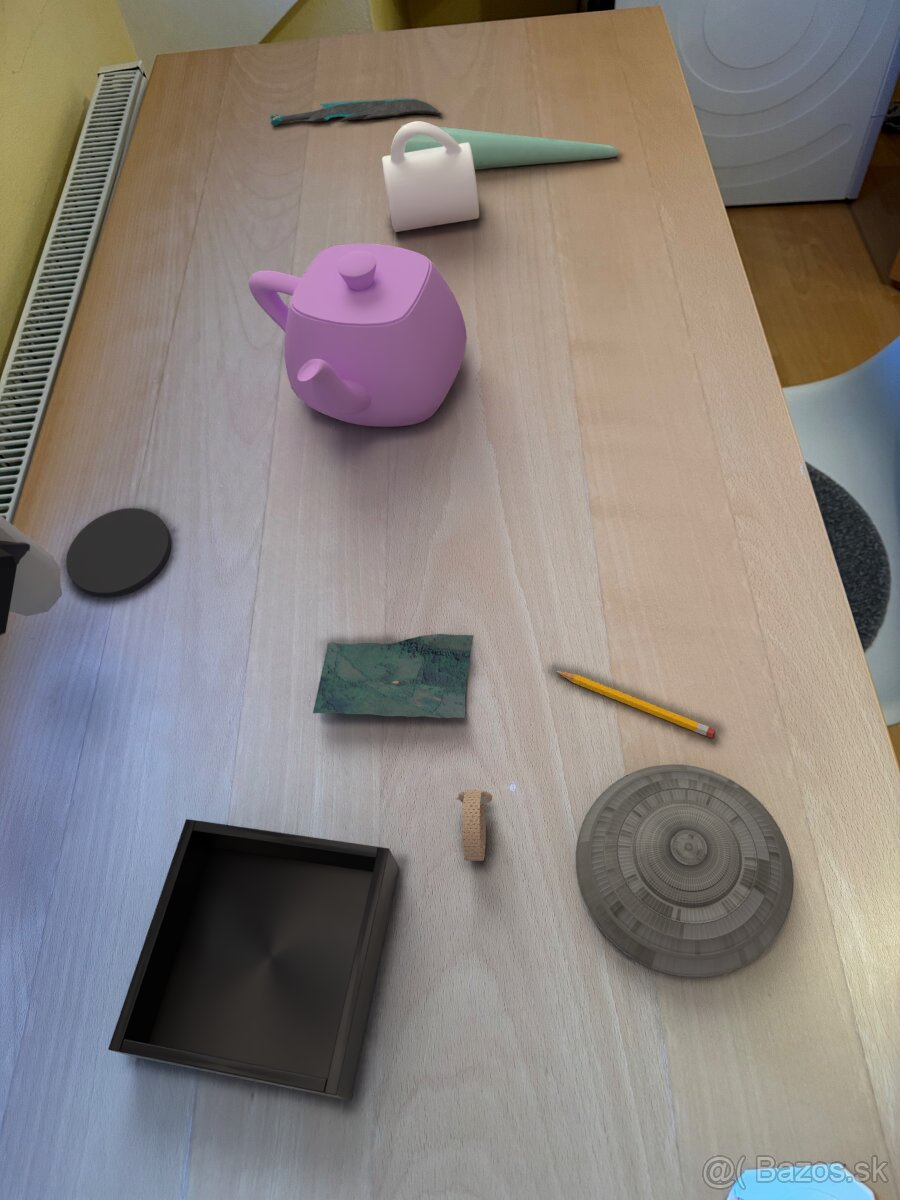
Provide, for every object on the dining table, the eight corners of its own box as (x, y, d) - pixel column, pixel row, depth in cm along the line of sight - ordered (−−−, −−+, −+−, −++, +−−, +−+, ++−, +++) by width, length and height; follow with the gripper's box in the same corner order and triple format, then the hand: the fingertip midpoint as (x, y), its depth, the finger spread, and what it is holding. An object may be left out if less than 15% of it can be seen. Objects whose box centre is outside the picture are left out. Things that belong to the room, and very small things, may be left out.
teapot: (308, 316, 103) (271, 195, 90) (484, 338, 98) (471, 214, 85) (223, 465, 92) (168, 351, 79) (417, 500, 87) (390, 384, 74)
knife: (274, 109, 128) (268, 129, 125) (272, 101, 127) (266, 121, 124) (445, 98, 125) (442, 118, 122) (444, 91, 124) (441, 111, 121)
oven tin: (135, 1057, 62) (107, 1049, 59) (206, 837, 70) (185, 818, 67) (351, 1101, 59) (336, 1095, 56) (399, 866, 68) (389, 848, 64)
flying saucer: (830, 857, 64) (850, 832, 60) (711, 1031, 59) (723, 1018, 55) (654, 735, 71) (659, 704, 66) (533, 882, 66) (530, 860, 61)
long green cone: (620, 126, 107) (397, 140, 110) (618, 169, 111) (404, 181, 115) (619, 101, 110) (402, 115, 113) (617, 144, 114) (409, 157, 118)
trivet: (82, 614, 84) (78, 609, 83) (60, 539, 89) (56, 534, 88) (183, 569, 85) (180, 564, 84) (156, 498, 90) (153, 493, 90)
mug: (481, 232, 108) (472, 135, 98) (396, 246, 108) (378, 151, 98) (473, 192, 112) (464, 95, 102) (391, 206, 113) (374, 110, 103)
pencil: (711, 739, 70) (712, 736, 70) (553, 676, 75) (553, 672, 74) (714, 731, 71) (715, 727, 70) (557, 668, 75) (557, 664, 75)
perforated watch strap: (494, 807, 69) (489, 783, 65) (493, 869, 67) (488, 848, 62) (459, 807, 70) (452, 783, 65) (457, 869, 67) (450, 848, 63)
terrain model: (315, 723, 75) (310, 713, 73) (329, 644, 79) (324, 632, 77) (469, 726, 73) (467, 715, 71) (475, 644, 77) (473, 633, 76)
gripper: (-92, 493, 53) (115, 487, 67) (-268, 395, 60) (-47, 407, 73) (-114, 663, 56) (88, 623, 70) (-279, 551, 63) (-65, 535, 77)
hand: (14, 541), depth 72 cm, fingers closed on salt shaker, 3 cm apart
